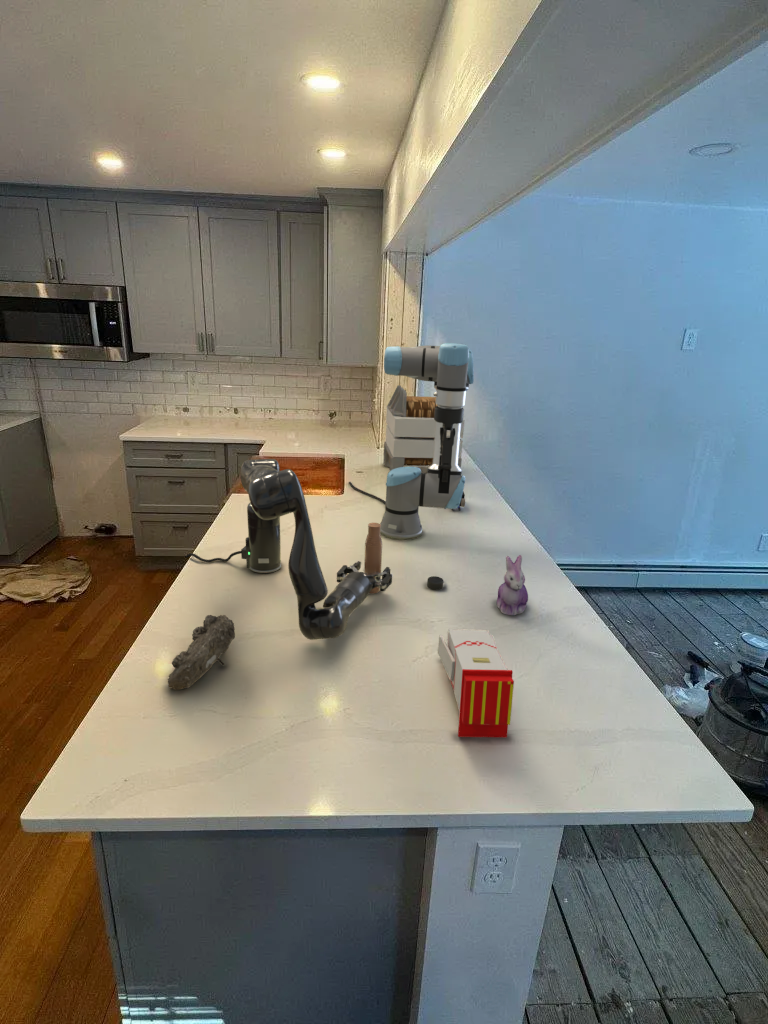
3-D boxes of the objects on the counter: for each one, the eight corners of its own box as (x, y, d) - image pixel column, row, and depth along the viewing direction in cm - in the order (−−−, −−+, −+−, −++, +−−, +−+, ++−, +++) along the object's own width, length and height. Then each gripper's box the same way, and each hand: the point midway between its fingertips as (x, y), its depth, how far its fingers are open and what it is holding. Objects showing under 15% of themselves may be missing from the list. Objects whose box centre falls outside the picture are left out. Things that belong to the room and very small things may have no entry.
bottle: (382, 588, 161) (385, 523, 154) (376, 595, 157) (378, 529, 150) (367, 584, 163) (370, 520, 156) (360, 591, 158) (362, 525, 152)
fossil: (190, 617, 133) (235, 588, 128) (218, 645, 136) (264, 617, 131) (146, 683, 113) (197, 651, 108) (180, 714, 116) (232, 684, 111)
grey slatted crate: (382, 463, 289) (386, 382, 275) (445, 464, 293) (451, 384, 279) (390, 482, 257) (394, 392, 243) (460, 483, 261) (468, 394, 247)
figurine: (510, 620, 147) (517, 567, 142) (486, 602, 155) (492, 552, 150) (538, 612, 151) (545, 561, 146) (513, 595, 159) (519, 546, 154)
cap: (432, 581, 166) (433, 574, 165) (445, 586, 164) (446, 579, 163) (423, 586, 163) (424, 579, 162) (437, 591, 160) (437, 584, 159)
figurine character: (465, 515, 224) (460, 499, 237) (467, 498, 221) (462, 483, 234) (448, 515, 224) (444, 499, 237) (450, 498, 220) (445, 482, 234)
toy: (488, 613, 130) (523, 677, 101) (484, 667, 133) (517, 744, 104) (435, 612, 130) (455, 676, 101) (432, 666, 133) (451, 743, 103)
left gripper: (377, 584, 140) (398, 559, 155) (325, 573, 144) (350, 550, 159) (376, 611, 143) (397, 584, 157) (325, 599, 147) (349, 574, 161)
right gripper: (435, 398, 158) (429, 471, 165) (434, 414, 134) (428, 499, 142) (462, 399, 157) (455, 473, 164) (466, 416, 134) (458, 501, 141)
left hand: (373, 567), depth 158 cm, fingers open, 8 cm apart
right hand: (443, 485), depth 153 cm, fingers open, 13 cm apart
